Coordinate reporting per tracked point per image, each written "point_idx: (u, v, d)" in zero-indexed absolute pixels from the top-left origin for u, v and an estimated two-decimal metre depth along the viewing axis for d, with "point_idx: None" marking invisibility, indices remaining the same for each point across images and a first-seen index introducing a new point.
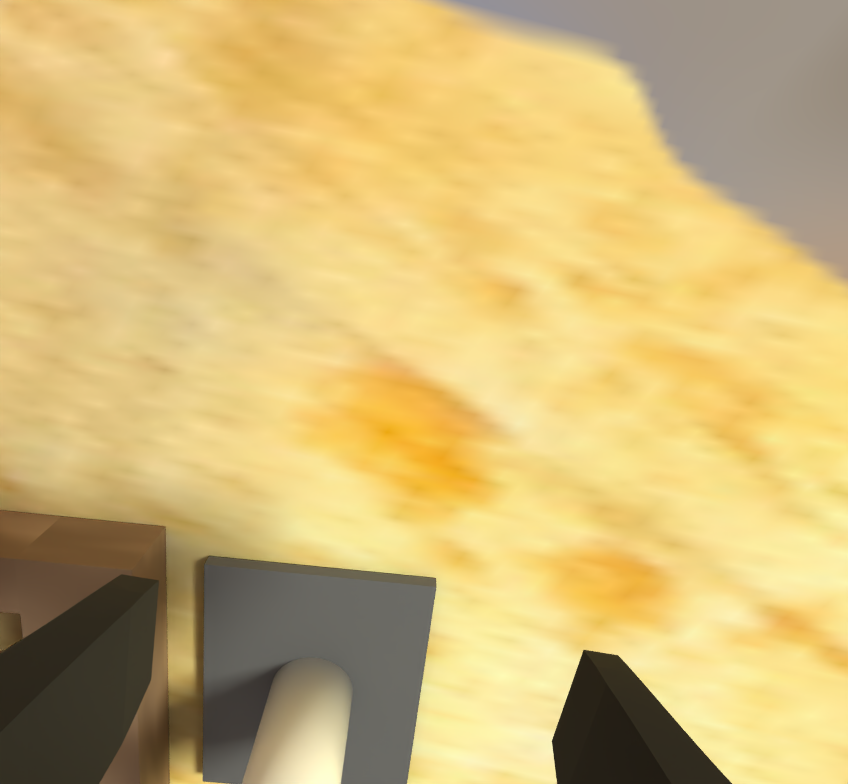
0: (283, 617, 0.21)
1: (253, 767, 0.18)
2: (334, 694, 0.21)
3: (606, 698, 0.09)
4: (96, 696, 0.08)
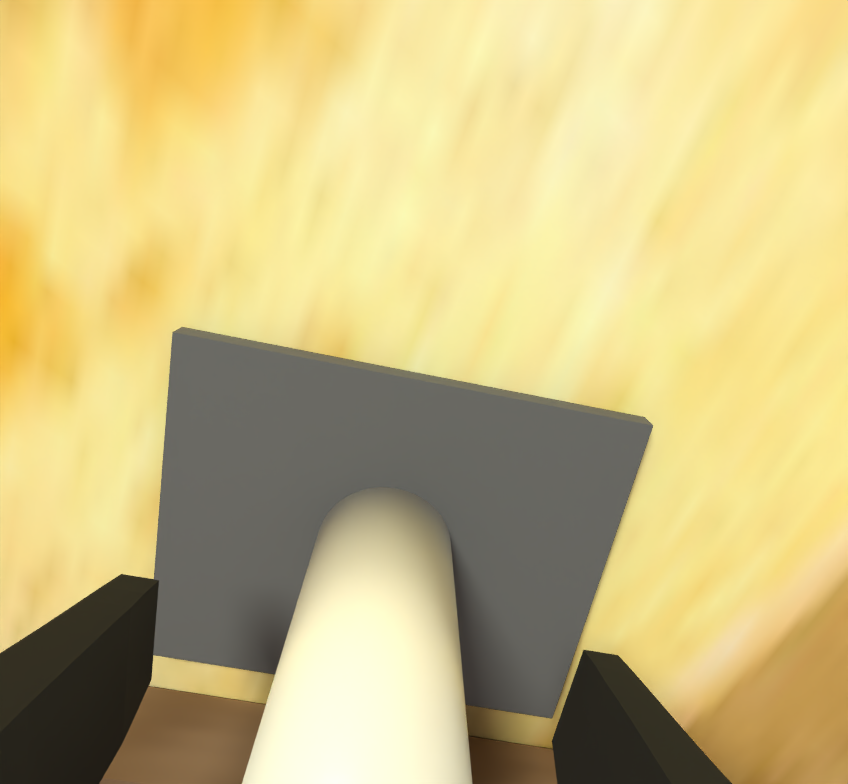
0: (239, 569, 0.14)
1: None
2: (329, 533, 0.12)
3: (606, 698, 0.09)
4: (96, 696, 0.08)
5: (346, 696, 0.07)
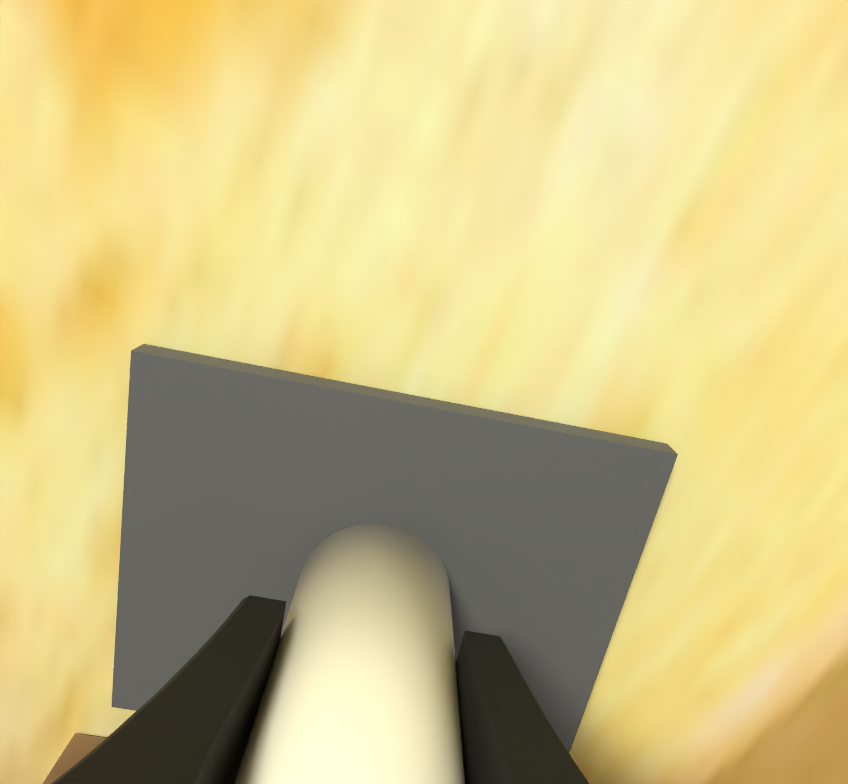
0: (212, 614, 0.12)
1: None
2: (310, 581, 0.10)
3: (472, 677, 0.09)
4: (248, 719, 0.08)
5: None
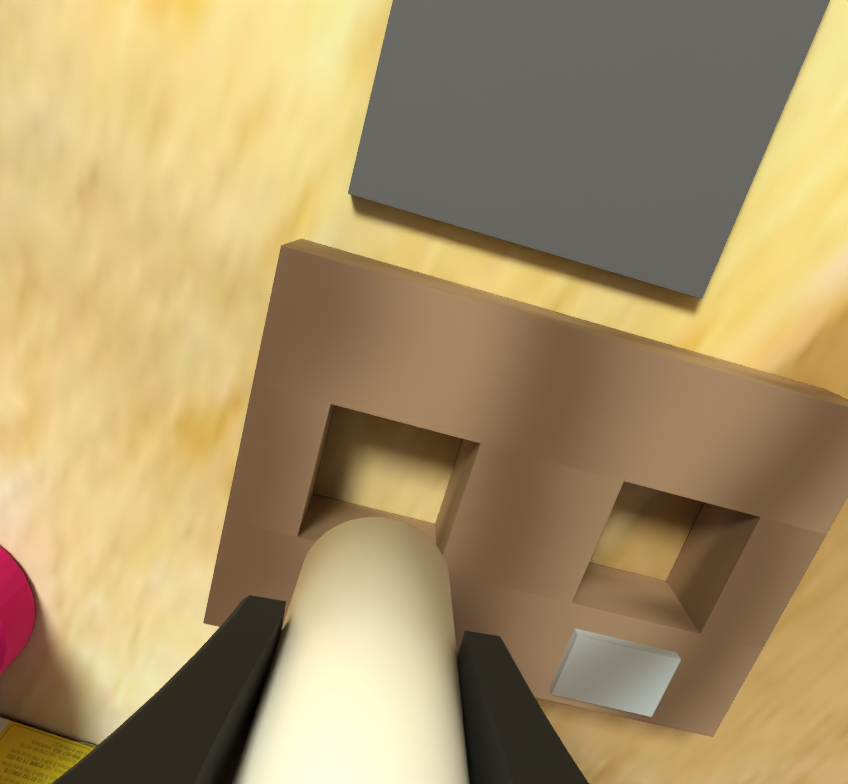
0: (447, 101, 0.15)
1: None
2: (313, 570, 0.10)
3: (472, 677, 0.09)
4: (248, 719, 0.08)
5: None
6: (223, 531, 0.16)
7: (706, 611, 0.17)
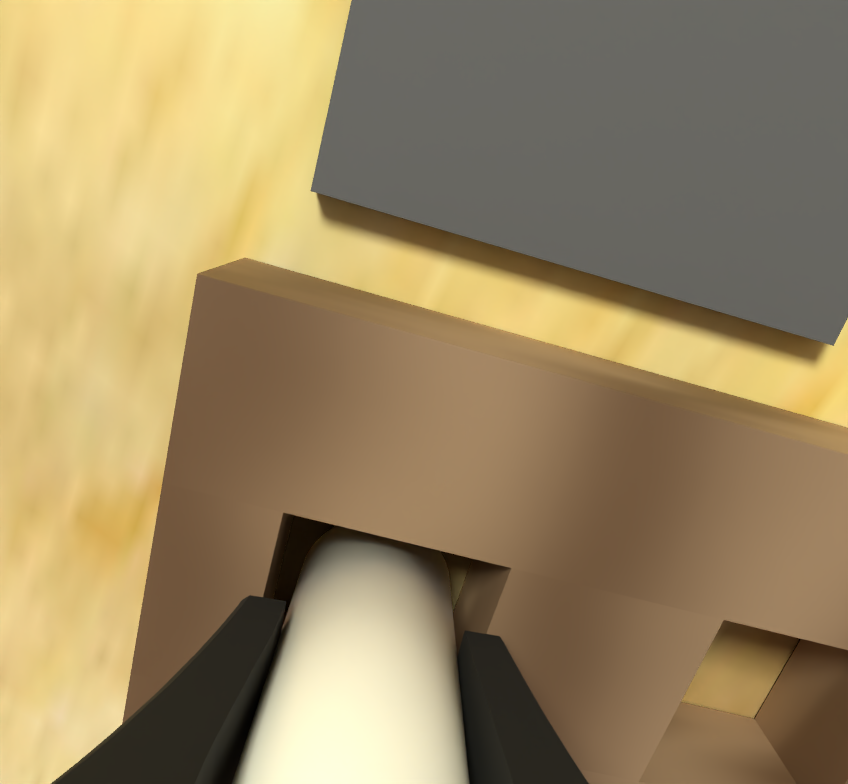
0: (462, 49, 0.10)
1: None
2: (313, 570, 0.10)
3: (472, 677, 0.09)
4: (248, 719, 0.08)
5: None
6: (129, 689, 0.11)
7: None
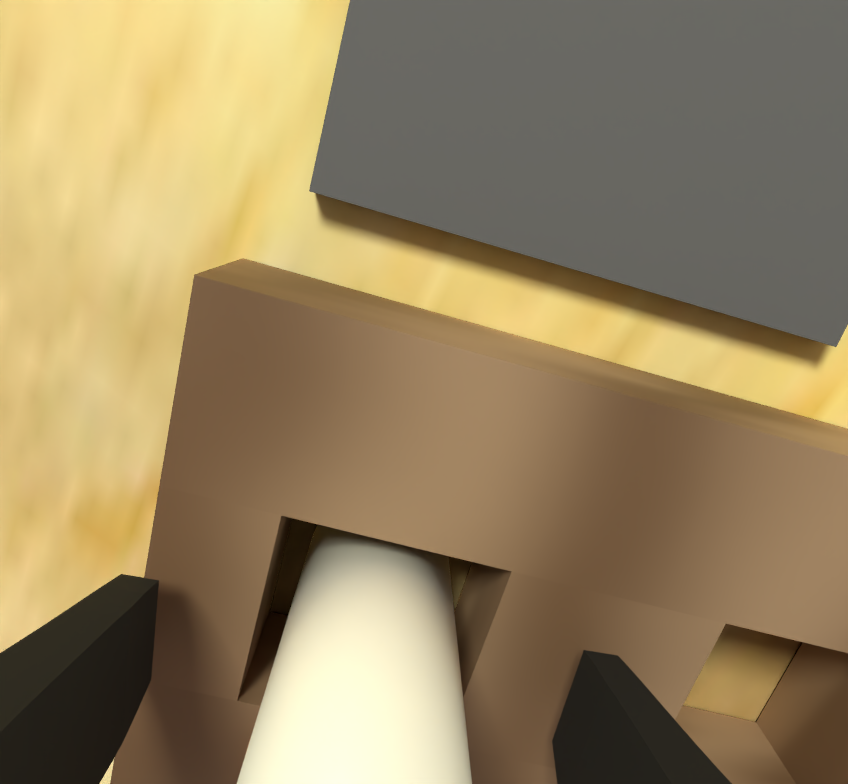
0: (462, 47, 0.09)
1: None
2: (323, 540, 0.11)
3: (606, 698, 0.09)
4: (96, 696, 0.08)
5: (343, 713, 0.07)
6: None
7: None
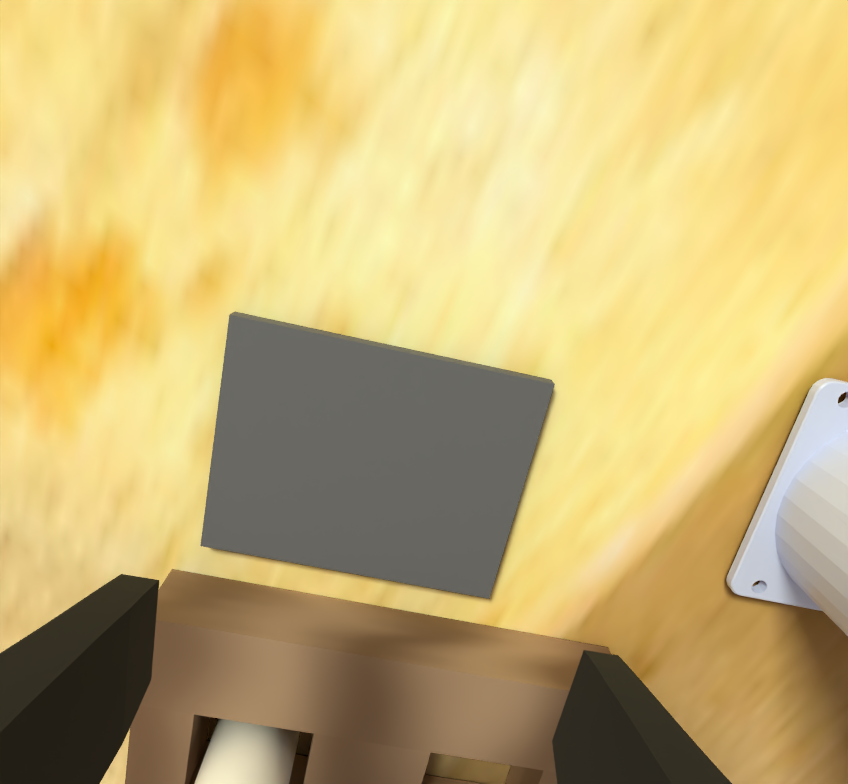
0: (268, 483, 0.19)
1: None
2: None
3: (606, 698, 0.09)
4: (96, 696, 0.08)
5: None
6: None
7: None
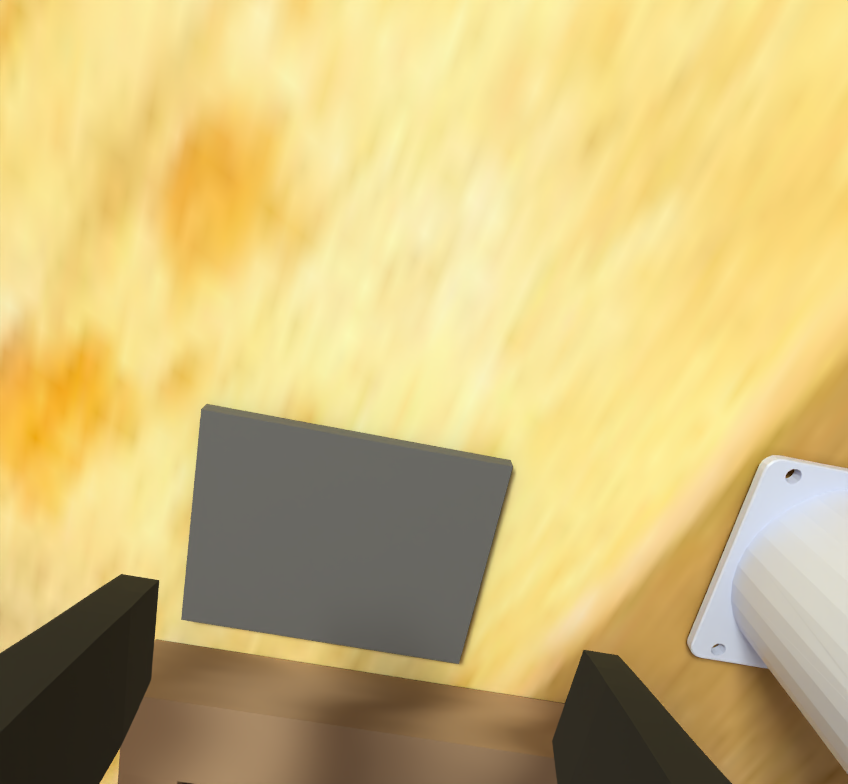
0: (243, 561, 0.20)
1: None
2: None
3: (606, 698, 0.09)
4: (96, 696, 0.08)
5: None
6: None
7: None
